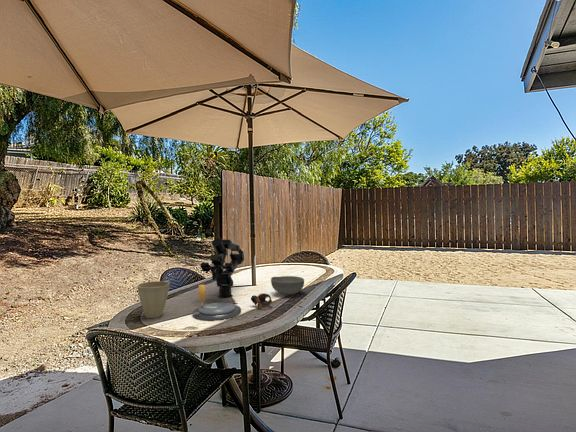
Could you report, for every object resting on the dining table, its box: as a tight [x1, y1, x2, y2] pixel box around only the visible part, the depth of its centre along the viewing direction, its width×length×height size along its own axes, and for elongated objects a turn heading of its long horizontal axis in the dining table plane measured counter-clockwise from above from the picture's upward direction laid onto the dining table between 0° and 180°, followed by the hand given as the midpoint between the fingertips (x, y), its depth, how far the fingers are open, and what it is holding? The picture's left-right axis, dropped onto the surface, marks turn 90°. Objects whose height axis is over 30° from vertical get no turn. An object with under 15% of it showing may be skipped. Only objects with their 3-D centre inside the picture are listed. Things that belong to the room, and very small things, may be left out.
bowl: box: [270, 275, 305, 296], centre depth 214 cm, size 20×20×10 cm
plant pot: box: [136, 280, 170, 319], centre depth 175 cm, size 15×15×16 cm
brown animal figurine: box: [250, 292, 273, 310], centre depth 188 cm, size 12×10×8 cm
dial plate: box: [192, 304, 242, 322], centre depth 178 cm, size 24×24×2 cm
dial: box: [198, 284, 235, 316], centre depth 178 cm, size 19×18×12 cm
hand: (213, 279), depth 193 cm, fingers closed
